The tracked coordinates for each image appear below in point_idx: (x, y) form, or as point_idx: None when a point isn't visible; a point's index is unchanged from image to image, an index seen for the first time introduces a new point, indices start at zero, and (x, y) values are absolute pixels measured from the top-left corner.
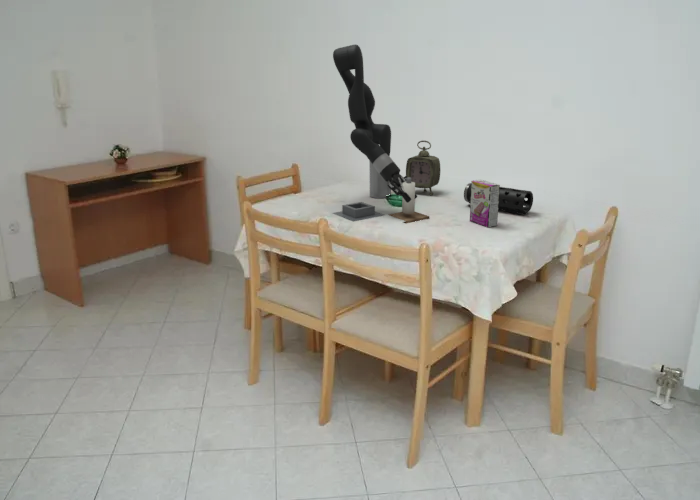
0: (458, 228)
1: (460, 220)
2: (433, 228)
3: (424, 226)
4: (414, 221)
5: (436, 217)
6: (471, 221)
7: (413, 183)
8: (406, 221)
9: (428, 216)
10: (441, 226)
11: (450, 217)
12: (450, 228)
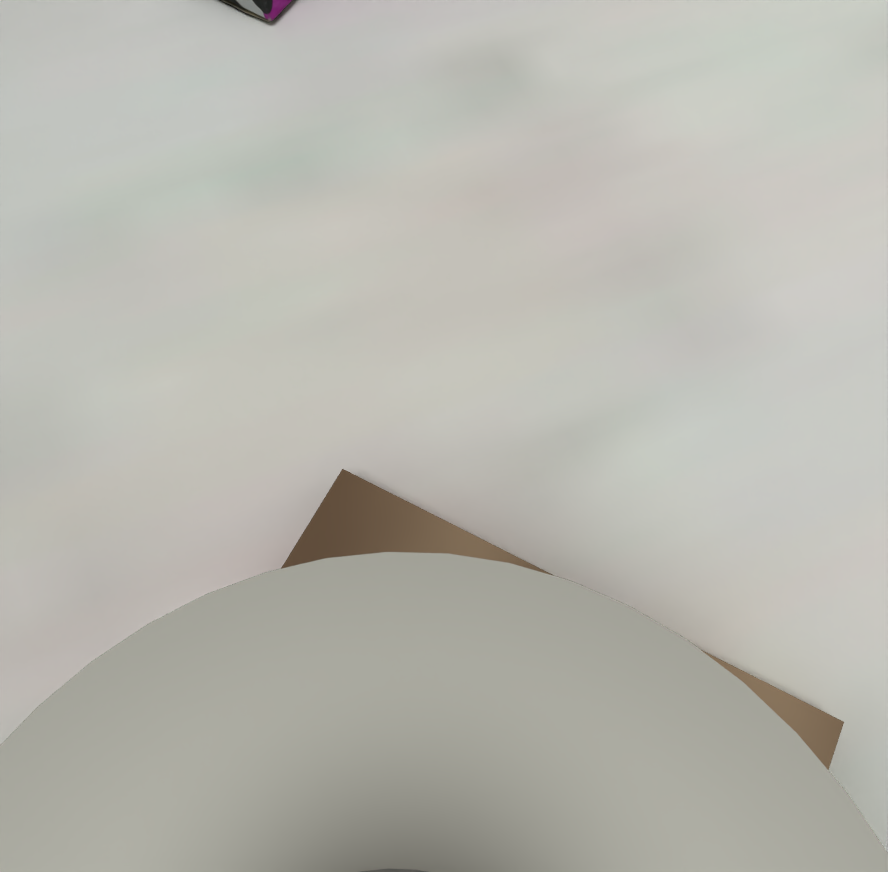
0: (625, 35)
1: (273, 112)
2: (800, 257)
3: (786, 391)
4: None
5: (234, 414)
6: (290, 1)
7: (458, 620)
8: (828, 715)
9: (358, 478)
10: (653, 206)
11: (169, 251)
12: (675, 99)
